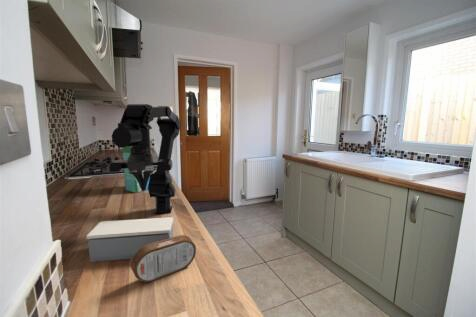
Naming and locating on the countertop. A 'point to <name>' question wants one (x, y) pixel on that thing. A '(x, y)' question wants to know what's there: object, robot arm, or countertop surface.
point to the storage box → (122, 245)
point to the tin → (163, 258)
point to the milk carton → (130, 179)
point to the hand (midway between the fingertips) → (143, 190)
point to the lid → (131, 227)
